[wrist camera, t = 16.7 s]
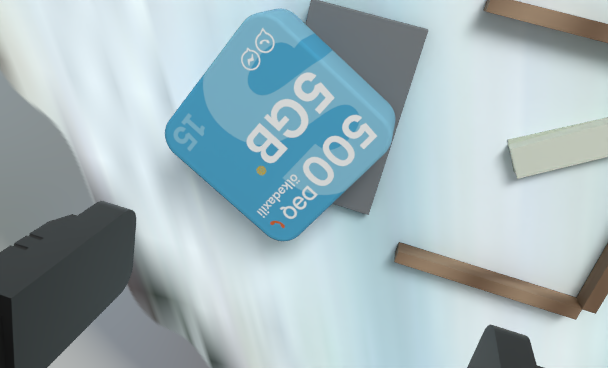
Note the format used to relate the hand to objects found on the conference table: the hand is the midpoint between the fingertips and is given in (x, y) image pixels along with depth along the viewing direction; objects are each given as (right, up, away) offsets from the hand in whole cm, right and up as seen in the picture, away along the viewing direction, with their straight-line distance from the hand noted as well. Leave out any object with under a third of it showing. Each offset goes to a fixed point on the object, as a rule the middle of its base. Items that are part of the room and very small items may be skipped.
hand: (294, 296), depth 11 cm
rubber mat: (+3, +8, +26) cm, 27 cm away
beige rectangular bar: (+20, +6, +24) cm, 31 cm away
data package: (-6, +10, +23) cm, 26 cm away
